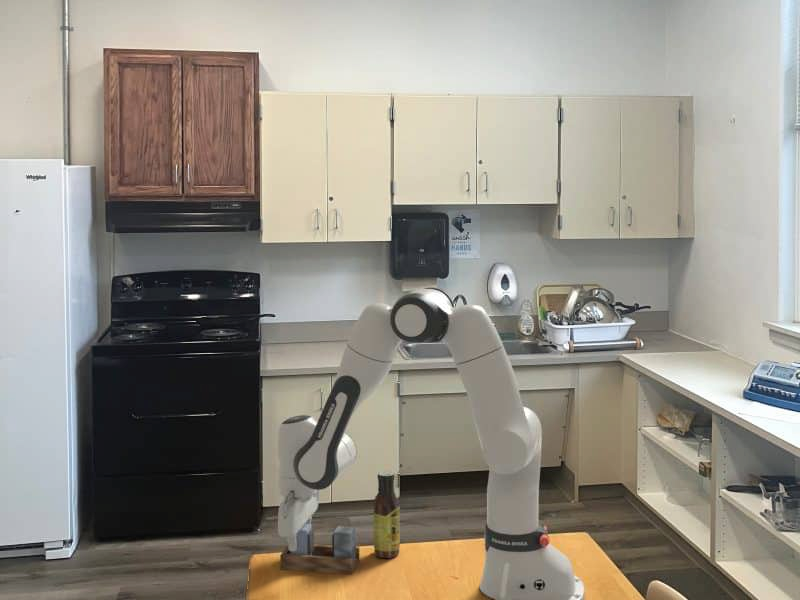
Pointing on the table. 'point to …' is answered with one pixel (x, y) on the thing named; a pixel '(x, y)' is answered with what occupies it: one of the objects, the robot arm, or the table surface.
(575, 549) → the table surface
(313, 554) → the brown wooden open box
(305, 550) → the blue grey rectangular block
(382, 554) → the sauce bottle
